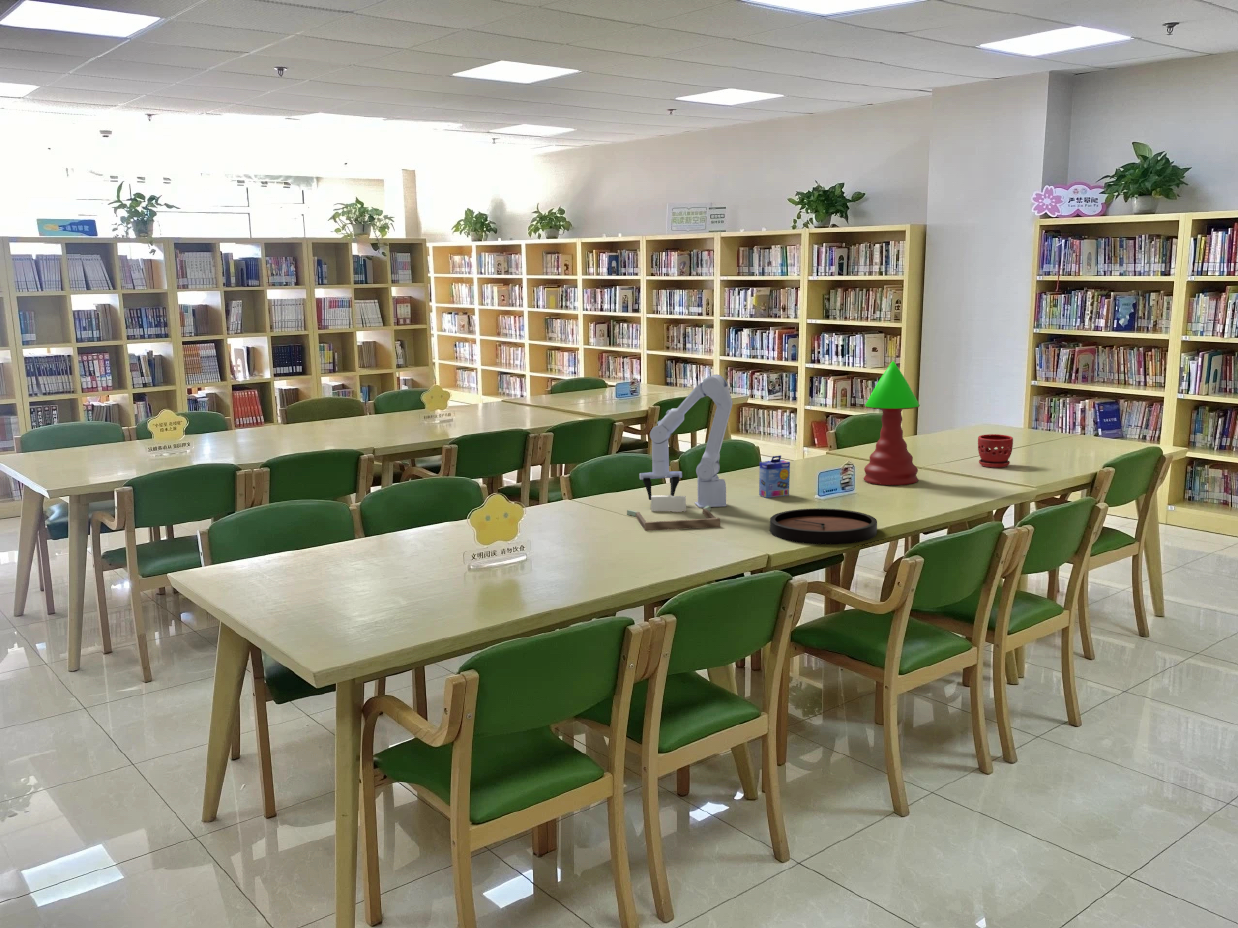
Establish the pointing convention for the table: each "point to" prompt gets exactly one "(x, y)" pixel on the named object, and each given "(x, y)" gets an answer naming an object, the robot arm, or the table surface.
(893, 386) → the table lamp
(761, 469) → the ink cartridge box
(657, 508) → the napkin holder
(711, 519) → the napkin dock
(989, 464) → the plant pot
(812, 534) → the wall clock
